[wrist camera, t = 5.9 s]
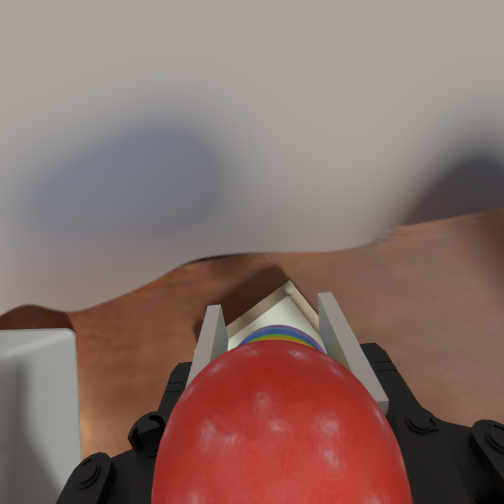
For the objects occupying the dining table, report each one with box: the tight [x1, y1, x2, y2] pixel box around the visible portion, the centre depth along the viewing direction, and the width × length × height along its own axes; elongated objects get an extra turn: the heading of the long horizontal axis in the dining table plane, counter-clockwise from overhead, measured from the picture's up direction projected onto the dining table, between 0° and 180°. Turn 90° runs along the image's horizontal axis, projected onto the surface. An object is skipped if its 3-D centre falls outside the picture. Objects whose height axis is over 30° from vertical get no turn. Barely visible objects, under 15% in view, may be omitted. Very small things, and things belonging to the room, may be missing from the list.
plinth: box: [194, 280, 327, 354], centre depth 32 cm, size 16×16×6 cm
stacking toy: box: [151, 325, 412, 504], centre depth 12 cm, size 8×8×19 cm
